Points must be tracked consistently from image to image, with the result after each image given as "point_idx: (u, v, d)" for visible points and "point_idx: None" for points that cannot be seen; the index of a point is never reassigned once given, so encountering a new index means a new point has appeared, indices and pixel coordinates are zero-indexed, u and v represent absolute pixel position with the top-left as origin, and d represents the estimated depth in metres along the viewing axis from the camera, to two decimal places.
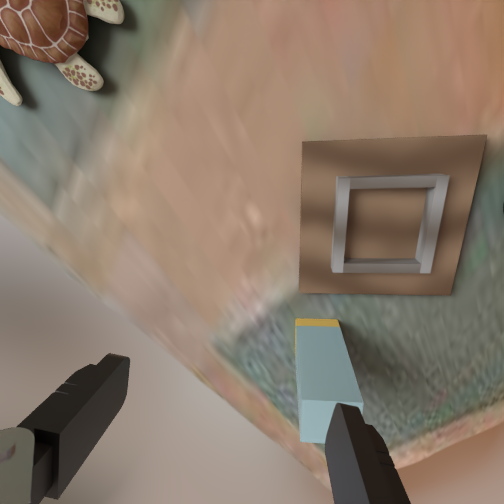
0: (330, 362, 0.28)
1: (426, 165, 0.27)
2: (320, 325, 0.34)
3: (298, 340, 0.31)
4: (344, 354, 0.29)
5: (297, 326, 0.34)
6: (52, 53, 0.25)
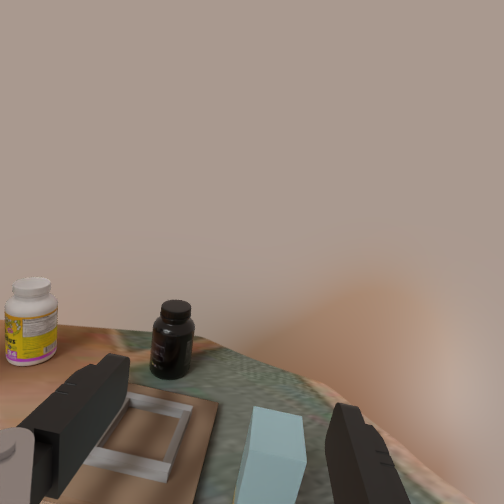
0: (243, 458, 0.29)
1: None
2: None
3: None
4: (243, 453, 0.31)
5: None
6: None
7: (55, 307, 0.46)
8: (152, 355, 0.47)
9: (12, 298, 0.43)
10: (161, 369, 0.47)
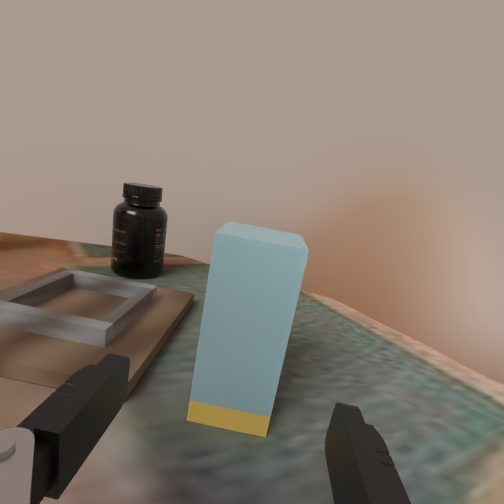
0: None
1: None
2: None
3: (196, 360, 0.17)
4: None
5: None
6: None
7: None
8: (113, 247, 0.38)
9: None
10: (123, 262, 0.37)
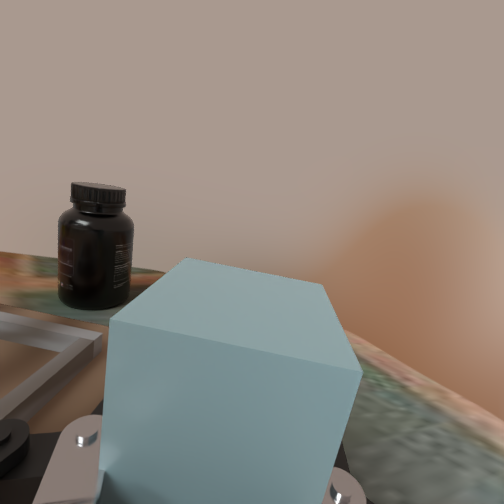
0: None
1: None
2: None
3: None
4: None
5: None
6: None
7: None
8: (58, 268, 0.28)
9: None
10: (71, 289, 0.28)
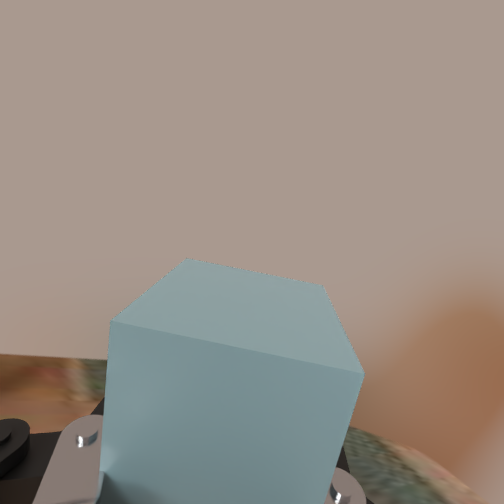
0: None
1: None
2: None
3: None
4: None
5: None
6: None
7: None
8: None
9: None
10: None
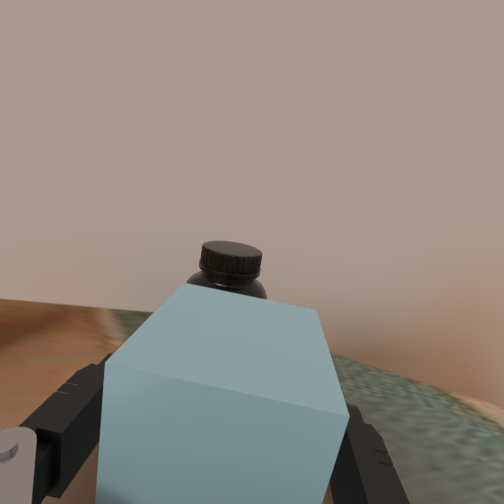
0: None
1: None
2: None
3: None
4: None
5: None
6: None
7: None
8: None
9: None
10: None
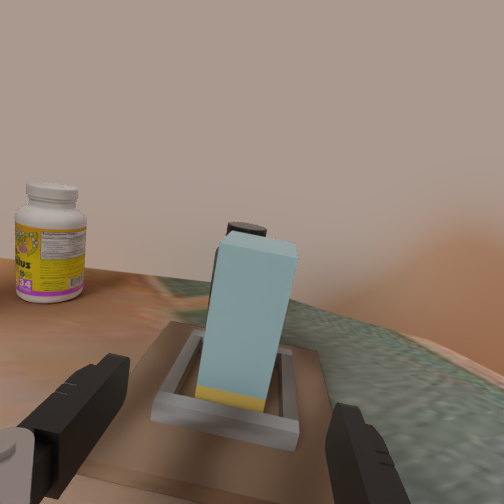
0: None
1: (179, 349, 0.27)
2: None
3: (202, 350, 0.20)
4: None
5: None
6: None
7: (84, 224, 0.33)
8: None
9: (26, 205, 0.31)
10: None
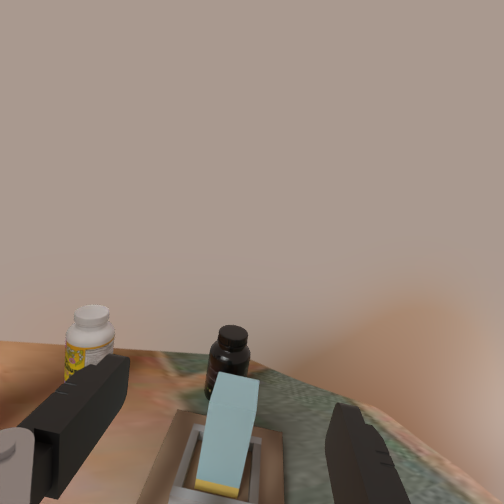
0: None
1: (184, 439, 0.39)
2: None
3: None
4: None
5: (196, 476, 0.33)
6: None
7: (113, 335, 0.45)
8: (209, 382, 0.47)
9: (73, 328, 0.43)
10: None
